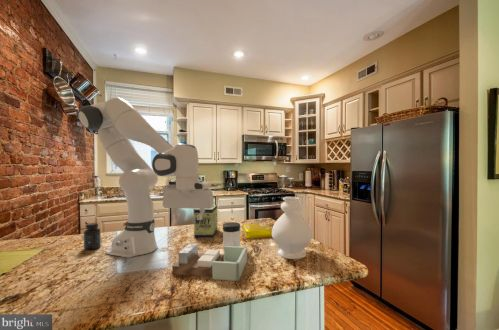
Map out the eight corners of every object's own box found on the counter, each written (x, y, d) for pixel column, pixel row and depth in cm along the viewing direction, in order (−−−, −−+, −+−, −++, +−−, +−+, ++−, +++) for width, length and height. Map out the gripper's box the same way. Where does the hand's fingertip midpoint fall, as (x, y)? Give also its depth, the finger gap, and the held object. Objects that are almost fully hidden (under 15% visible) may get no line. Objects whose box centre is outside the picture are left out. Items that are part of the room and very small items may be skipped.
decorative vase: (298, 244, 113) (297, 194, 113) (321, 257, 96) (320, 199, 96) (265, 249, 107) (264, 196, 107) (283, 264, 90) (283, 202, 90)
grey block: (178, 264, 85) (178, 252, 85) (189, 254, 95) (189, 243, 95) (187, 265, 84) (187, 253, 84) (197, 254, 94) (197, 243, 94)
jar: (227, 254, 101) (227, 227, 101) (219, 249, 108) (219, 223, 108) (244, 250, 106) (244, 224, 106) (235, 245, 113) (235, 221, 113)
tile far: (203, 259, 89) (203, 254, 89) (208, 254, 94) (207, 249, 94) (215, 260, 88) (215, 254, 88) (219, 255, 93) (219, 249, 93)
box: (212, 279, 80) (212, 262, 80) (224, 260, 95) (224, 245, 95) (238, 281, 78) (238, 263, 78) (247, 261, 94) (246, 247, 94)
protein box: (194, 237, 126) (193, 209, 126) (201, 229, 141) (200, 204, 141) (212, 237, 125) (212, 209, 125) (217, 229, 141) (217, 204, 141)
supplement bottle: (80, 251, 108) (80, 226, 108) (90, 245, 115) (89, 222, 115) (95, 250, 108) (94, 225, 108) (103, 245, 115) (103, 222, 115)
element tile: (242, 231, 138) (242, 223, 138) (266, 229, 140) (266, 222, 140) (246, 239, 123) (246, 230, 123) (273, 237, 125) (273, 228, 125)
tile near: (197, 266, 83) (197, 260, 83) (202, 260, 88) (202, 255, 88) (210, 267, 82) (210, 261, 82) (215, 261, 87) (214, 255, 87)
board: (172, 274, 84) (172, 266, 84) (187, 259, 97) (187, 252, 97) (213, 277, 81) (213, 268, 81) (223, 261, 94) (223, 254, 94)
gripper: (158, 185, 88) (159, 220, 88) (209, 185, 85) (209, 221, 85) (167, 183, 94) (168, 217, 94) (214, 183, 91) (215, 217, 91)
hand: (188, 219), depth 90 cm, fingers open, 8 cm apart
